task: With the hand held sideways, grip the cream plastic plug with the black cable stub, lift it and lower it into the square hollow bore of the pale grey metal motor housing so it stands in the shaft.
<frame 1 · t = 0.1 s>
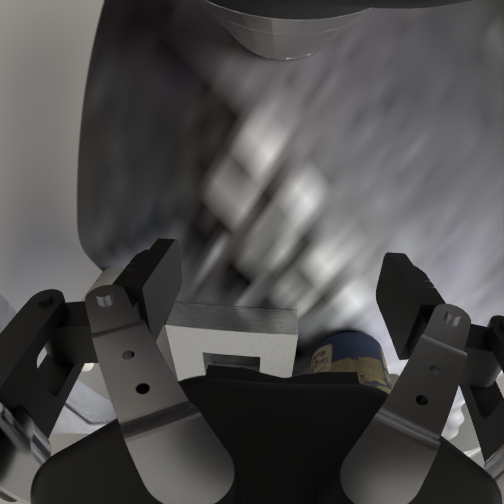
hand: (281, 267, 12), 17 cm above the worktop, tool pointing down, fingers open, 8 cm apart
motor housing: (235, 348, 39), on the worktop
plug: (118, 282, 35), on the worktop
canister: (344, 351, 38), on the worktop
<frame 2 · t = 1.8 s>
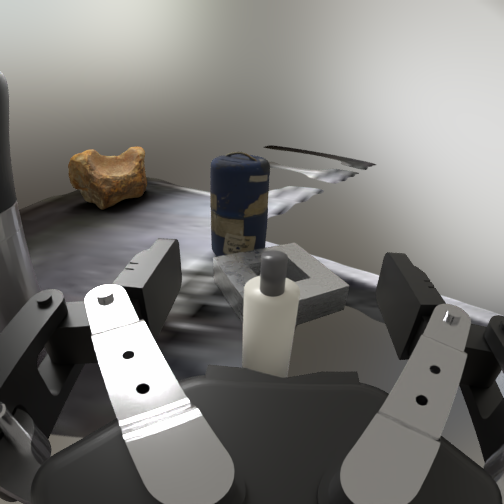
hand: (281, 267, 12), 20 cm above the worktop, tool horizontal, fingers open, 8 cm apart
motor housing: (276, 295, 46), on the worktop
plug: (263, 384, 31), on the worktop
canister: (238, 254, 57), on the worktop
rough brown rock: (112, 202, 82), on the worktop
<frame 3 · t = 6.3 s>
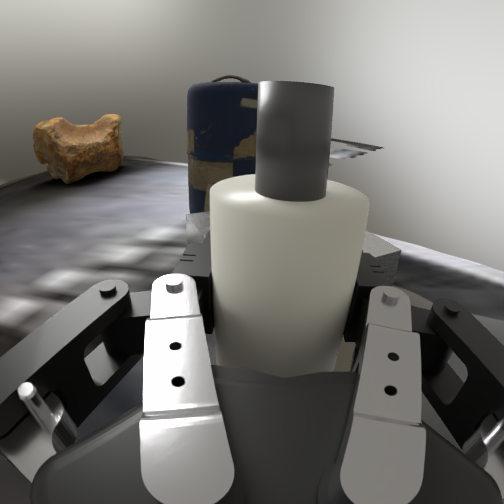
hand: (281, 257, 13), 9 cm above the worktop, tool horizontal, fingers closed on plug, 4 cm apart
motor housing: (284, 270, 29), on the worktop
plug: (266, 431, 14), on the worktop, touching gripper
canister: (227, 221, 40), on the worktop
rough brown rock: (81, 178, 65), on the worktop
when the fingers open (10 cm above the worktop, at t = 11.2 s): plug drops 1 cm, resting in motor housing.
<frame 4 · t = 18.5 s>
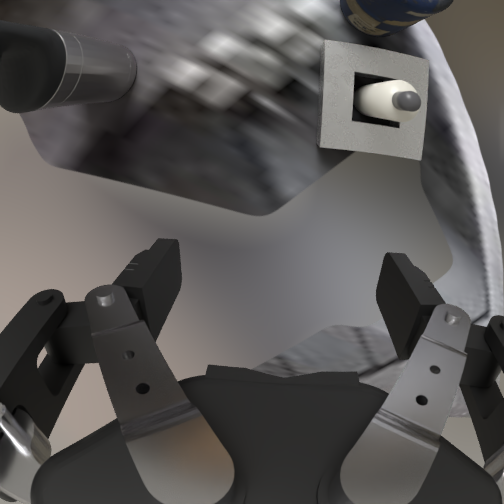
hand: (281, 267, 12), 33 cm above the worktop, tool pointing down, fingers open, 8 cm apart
motor housing: (369, 100, 37), on the worktop
plug: (369, 100, 37), resting in motor housing
canister: (370, 9, 31), on the worktop
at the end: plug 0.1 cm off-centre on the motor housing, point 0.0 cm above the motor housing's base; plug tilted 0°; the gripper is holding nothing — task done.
